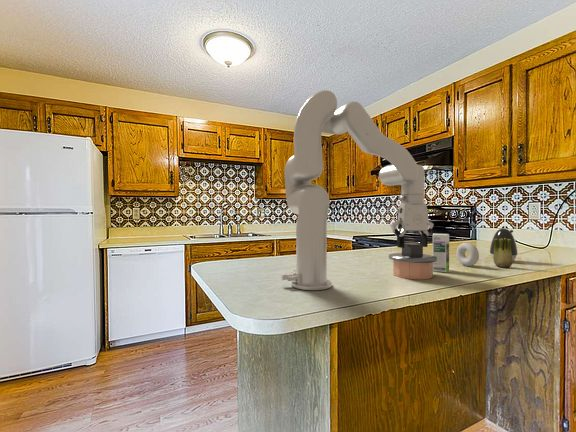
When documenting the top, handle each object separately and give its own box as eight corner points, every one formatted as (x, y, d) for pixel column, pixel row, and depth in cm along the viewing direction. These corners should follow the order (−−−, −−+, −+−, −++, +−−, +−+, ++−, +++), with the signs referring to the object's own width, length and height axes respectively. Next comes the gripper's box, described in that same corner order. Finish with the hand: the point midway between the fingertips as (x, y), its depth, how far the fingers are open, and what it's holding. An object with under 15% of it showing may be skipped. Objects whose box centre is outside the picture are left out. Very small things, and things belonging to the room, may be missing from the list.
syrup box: (432, 271, 111) (432, 234, 111) (432, 268, 116) (432, 232, 116) (449, 272, 108) (449, 234, 108) (448, 270, 114) (448, 233, 113)
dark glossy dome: (523, 262, 129) (523, 228, 129) (505, 263, 127) (505, 229, 127) (501, 259, 139) (502, 227, 139) (484, 259, 137) (484, 228, 136)
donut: (481, 268, 117) (481, 243, 117) (474, 268, 116) (474, 243, 116) (460, 263, 127) (460, 241, 127) (454, 264, 126) (454, 241, 126)
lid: (407, 263, 95) (407, 247, 94) (380, 256, 110) (380, 242, 110) (447, 261, 98) (447, 245, 98) (416, 254, 114) (416, 240, 114)
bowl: (408, 280, 96) (408, 262, 96) (386, 272, 109) (386, 256, 109) (440, 278, 100) (440, 261, 100) (415, 270, 112) (415, 255, 112)
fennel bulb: (492, 266, 120) (492, 238, 120) (497, 265, 123) (498, 237, 122) (508, 269, 115) (508, 239, 115) (514, 267, 118) (514, 238, 117)
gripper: (398, 199, 98) (397, 249, 98) (440, 199, 102) (440, 247, 103) (385, 200, 105) (385, 246, 106) (425, 200, 110) (425, 245, 110)
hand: (412, 247), depth 104 cm, fingers open, 9 cm apart
